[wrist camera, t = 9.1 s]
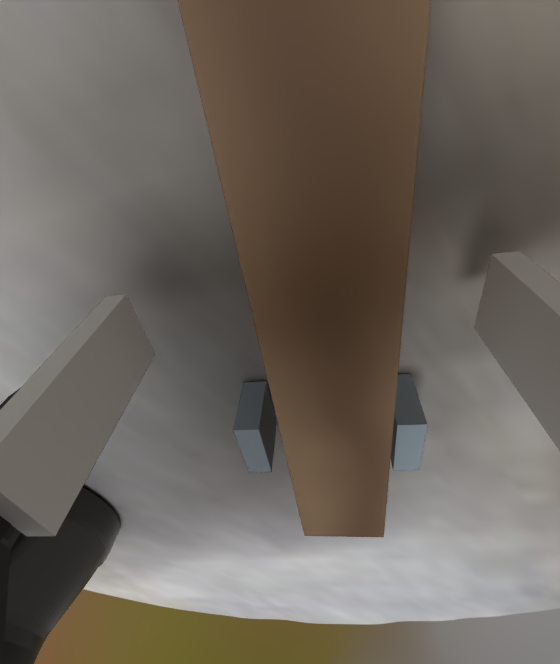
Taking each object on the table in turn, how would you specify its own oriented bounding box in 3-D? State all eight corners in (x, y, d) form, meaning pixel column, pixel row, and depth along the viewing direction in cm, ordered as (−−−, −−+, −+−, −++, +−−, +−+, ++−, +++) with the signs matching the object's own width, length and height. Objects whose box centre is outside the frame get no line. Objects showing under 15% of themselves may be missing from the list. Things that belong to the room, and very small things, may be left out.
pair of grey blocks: (256, 424, 20) (248, 472, 17) (243, 382, 17) (232, 430, 15) (405, 419, 18) (419, 470, 16) (410, 373, 16) (427, 424, 14)
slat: (305, 450, 21) (304, 535, 17) (217, -60, 8) (134, -185, 4) (369, 449, 21) (383, 537, 17) (382, -102, 8) (456, -291, 4)
